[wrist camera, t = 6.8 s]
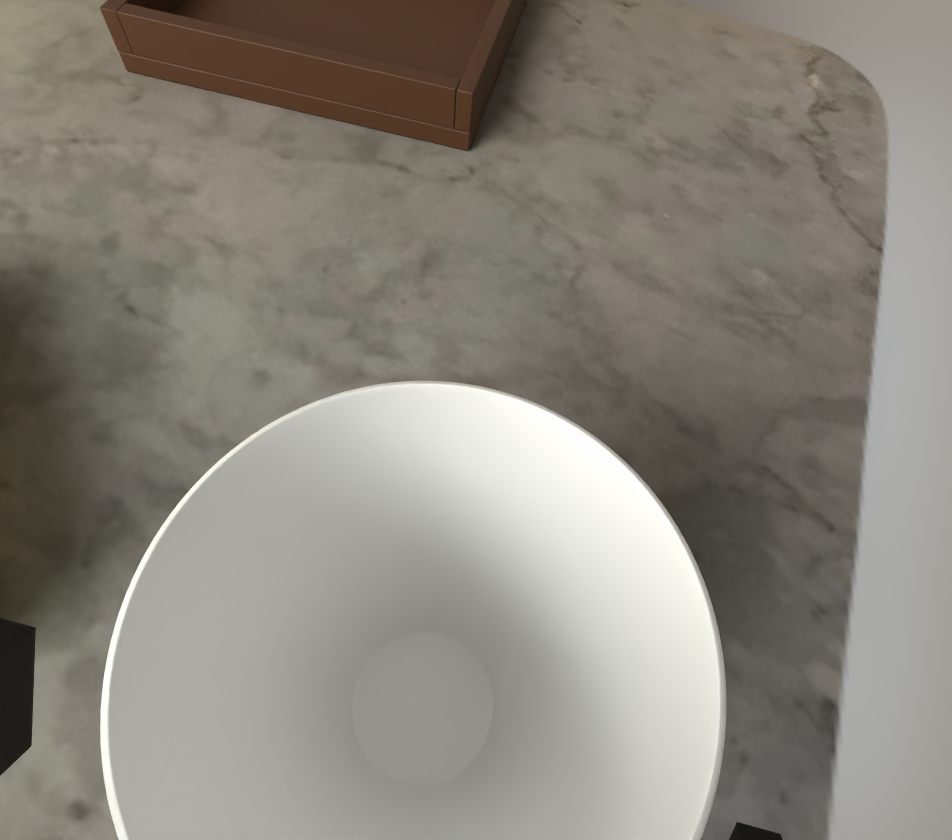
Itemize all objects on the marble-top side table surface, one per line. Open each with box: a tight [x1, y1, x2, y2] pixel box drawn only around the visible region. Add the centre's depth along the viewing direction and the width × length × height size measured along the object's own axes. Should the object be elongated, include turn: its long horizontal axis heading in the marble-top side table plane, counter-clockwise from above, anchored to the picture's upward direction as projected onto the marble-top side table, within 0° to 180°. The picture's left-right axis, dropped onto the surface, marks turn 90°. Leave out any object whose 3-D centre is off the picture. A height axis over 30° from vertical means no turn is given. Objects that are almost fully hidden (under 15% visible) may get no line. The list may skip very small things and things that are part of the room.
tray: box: [100, 0, 527, 151], centre depth 33 cm, size 18×15×3 cm
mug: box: [100, 381, 726, 840], centre depth 12 cm, size 12×8×11 cm
